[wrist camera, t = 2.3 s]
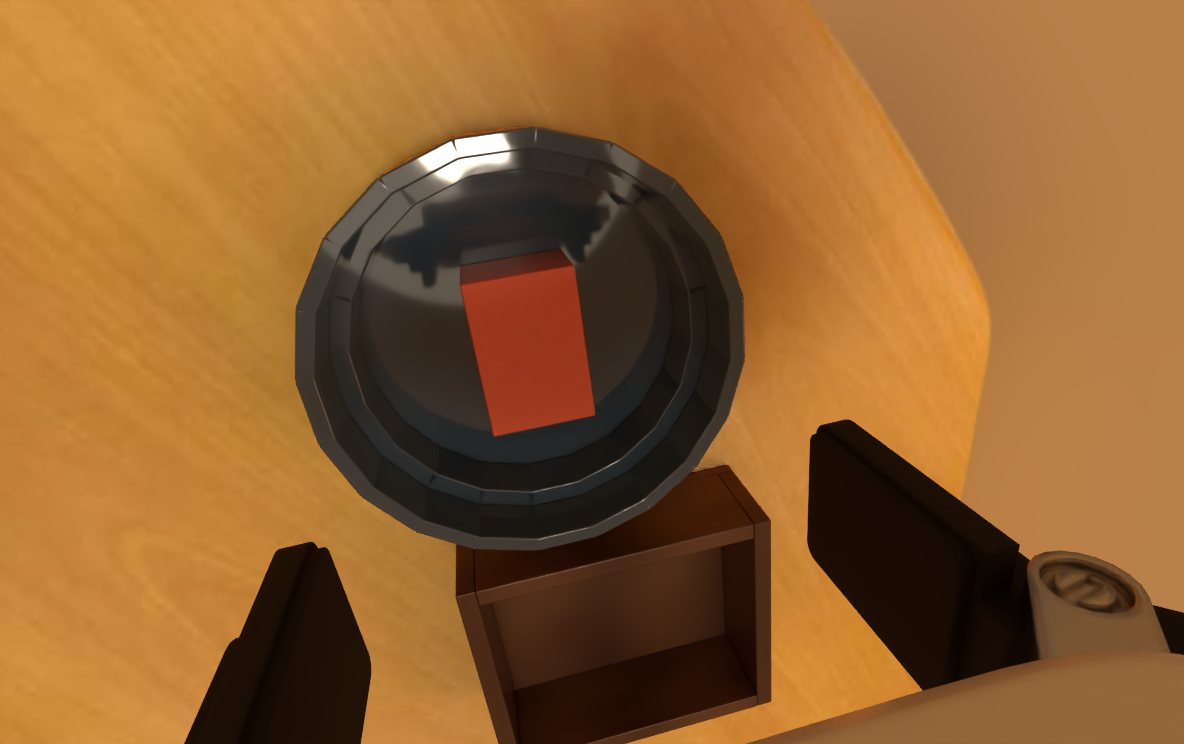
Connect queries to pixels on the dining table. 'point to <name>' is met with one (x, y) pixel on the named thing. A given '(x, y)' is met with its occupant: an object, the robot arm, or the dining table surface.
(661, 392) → the bowl
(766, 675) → the holder
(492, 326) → the block
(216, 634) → the dining table surface
